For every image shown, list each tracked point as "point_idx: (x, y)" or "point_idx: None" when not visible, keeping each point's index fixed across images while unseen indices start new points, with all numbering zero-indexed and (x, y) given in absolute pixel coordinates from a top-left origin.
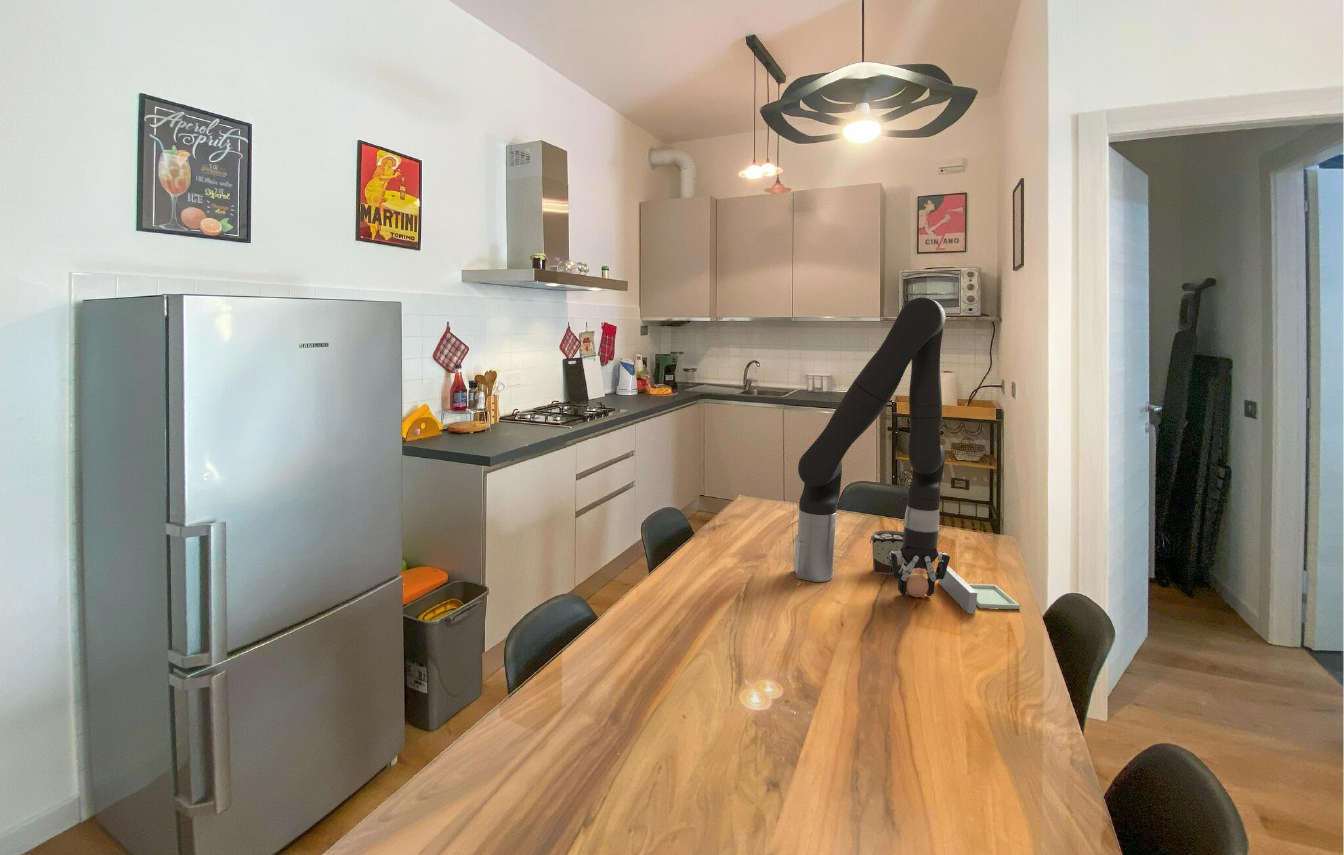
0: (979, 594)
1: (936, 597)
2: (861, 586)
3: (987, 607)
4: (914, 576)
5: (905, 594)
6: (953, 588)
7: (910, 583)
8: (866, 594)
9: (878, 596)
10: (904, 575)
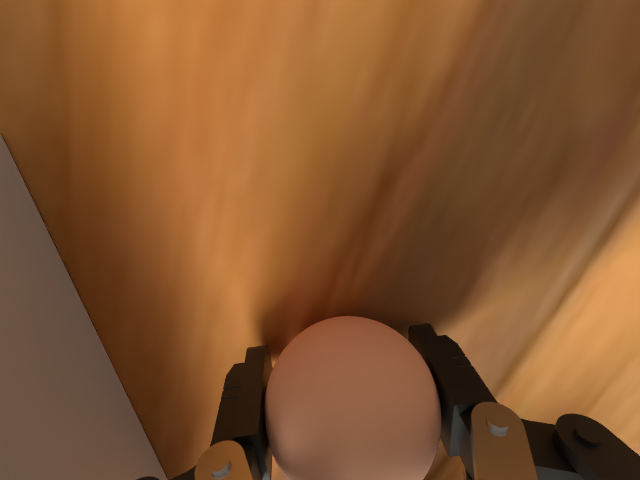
0: None
1: (214, 355)
2: (584, 391)
3: None
4: (401, 461)
5: (412, 326)
6: (80, 427)
7: (422, 384)
8: (613, 307)
9: (557, 296)
10: (511, 448)
